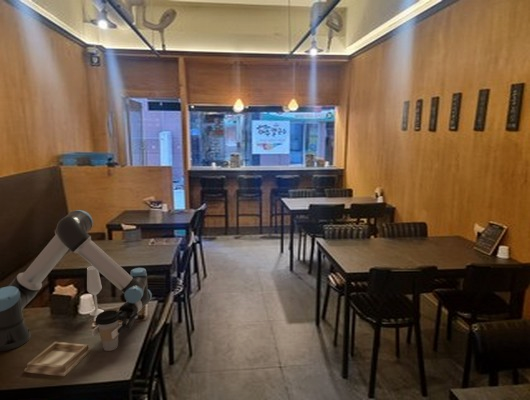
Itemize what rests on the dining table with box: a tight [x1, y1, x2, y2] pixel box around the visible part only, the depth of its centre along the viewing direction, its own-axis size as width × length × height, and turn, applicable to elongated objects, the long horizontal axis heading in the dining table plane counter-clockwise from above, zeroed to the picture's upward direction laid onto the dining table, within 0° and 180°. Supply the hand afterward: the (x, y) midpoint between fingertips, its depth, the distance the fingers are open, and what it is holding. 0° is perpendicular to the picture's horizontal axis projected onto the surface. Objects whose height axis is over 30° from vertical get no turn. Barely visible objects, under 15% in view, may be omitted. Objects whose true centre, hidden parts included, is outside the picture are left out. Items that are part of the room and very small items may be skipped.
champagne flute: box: [86, 265, 105, 317], centre depth 188 cm, size 7×7×24 cm
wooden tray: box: [23, 341, 93, 377], centre depth 151 cm, size 17×17×3 cm
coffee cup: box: [95, 309, 120, 352], centre depth 159 cm, size 9×9×15 cm
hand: (102, 334), depth 155 cm, fingers closed on coffee cup, 8 cm apart
